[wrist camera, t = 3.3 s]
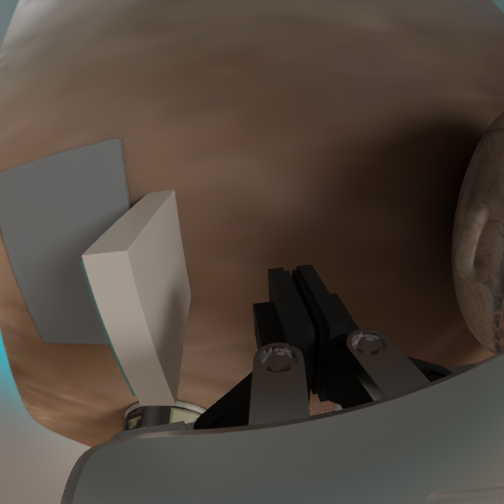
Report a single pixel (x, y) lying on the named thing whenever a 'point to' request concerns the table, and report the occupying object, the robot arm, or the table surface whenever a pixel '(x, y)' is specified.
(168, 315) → the tile
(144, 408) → the coffee can
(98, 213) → the mat
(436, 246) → the table surface
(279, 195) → the table surface
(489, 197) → the cooking pot
